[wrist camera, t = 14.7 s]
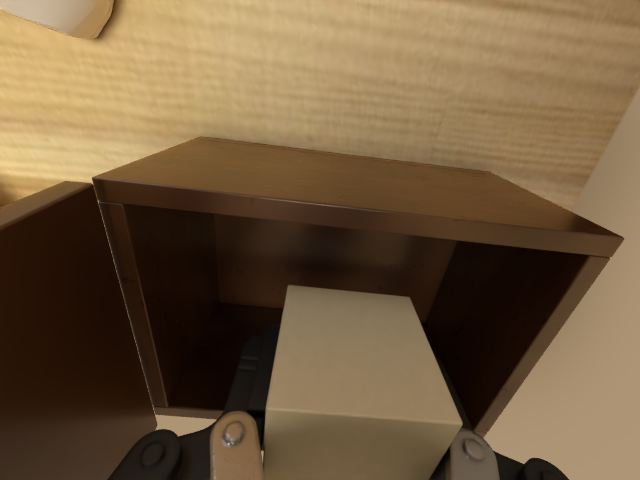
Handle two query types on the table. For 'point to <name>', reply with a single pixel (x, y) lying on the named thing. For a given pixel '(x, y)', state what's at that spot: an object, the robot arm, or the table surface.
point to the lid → (65, 343)
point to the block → (355, 391)
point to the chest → (337, 261)
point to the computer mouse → (63, 14)
